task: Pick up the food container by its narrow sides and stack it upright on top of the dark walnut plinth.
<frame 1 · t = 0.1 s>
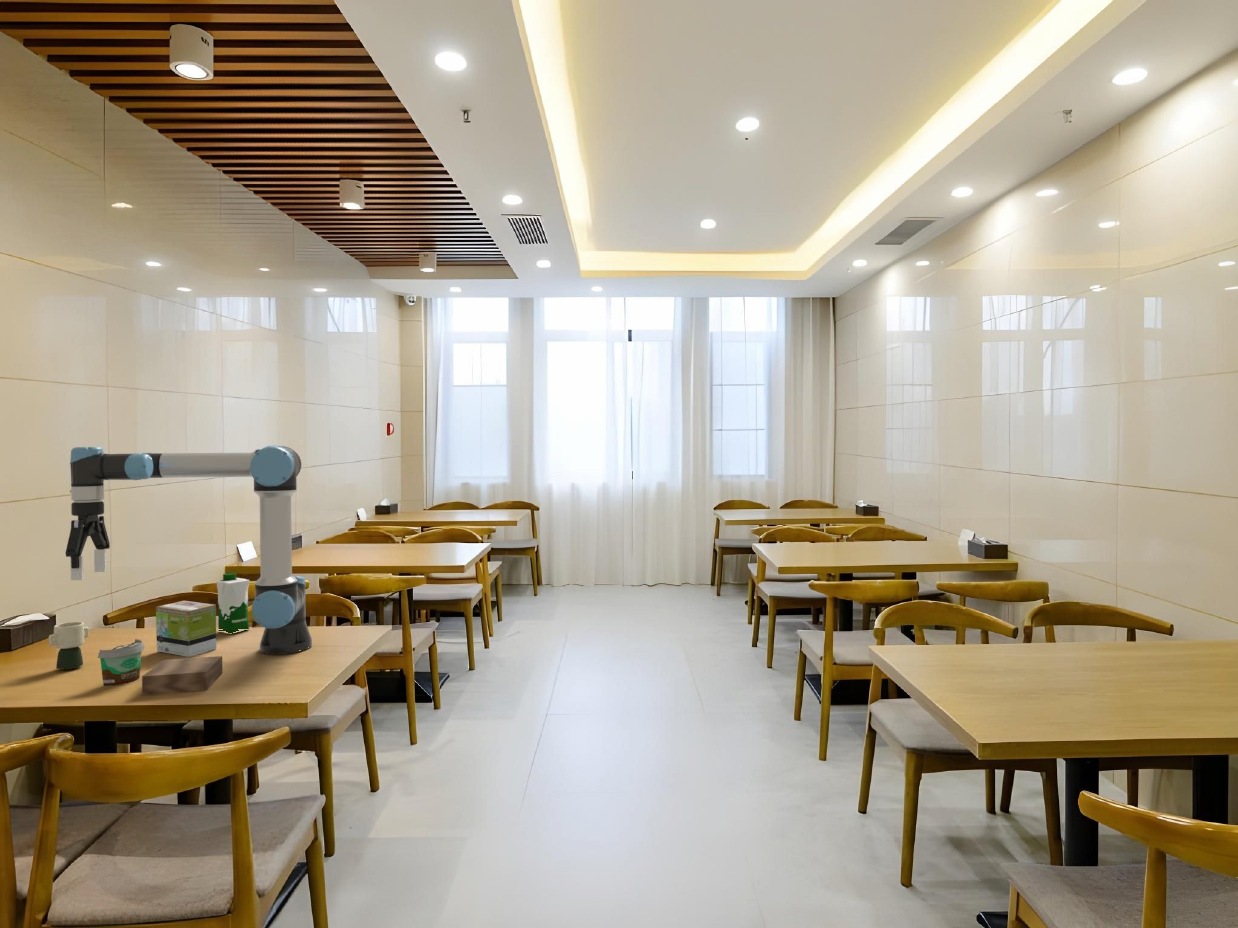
hand: (89, 575, 206), 28 cm above the table, tool pointing down, fingers open, 13 cm apart
tea box: (186, 651, 230), on the table
character mug: (69, 669, 211), on the table
food container: (127, 681, 200), on the table
walnut plinth: (184, 683, 197), on the table
milk carton: (233, 631, 254), on the table
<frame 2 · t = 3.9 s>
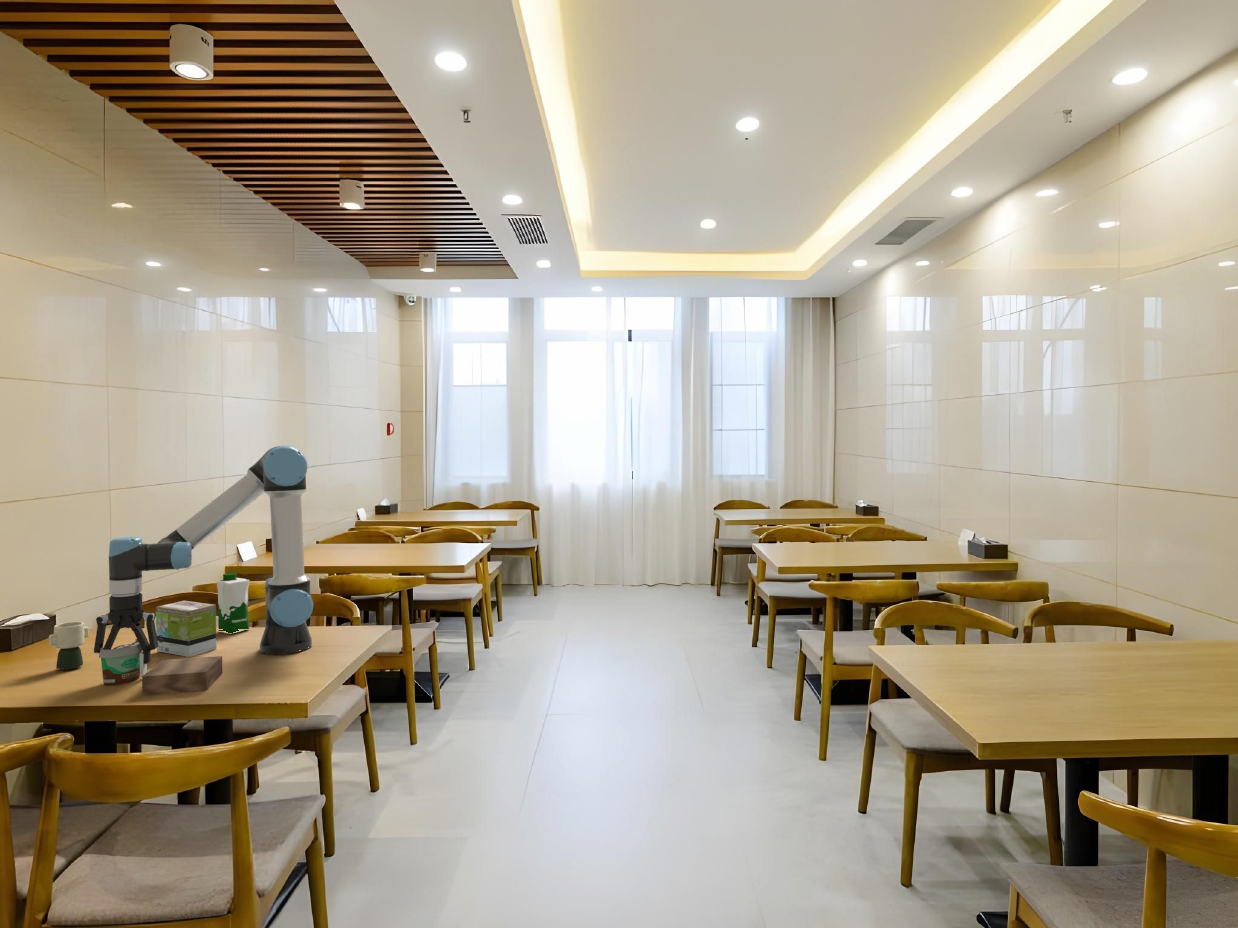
hand: (126, 676, 200), 1 cm above the table, tool pointing down, fingers closed on food container, 7 cm apart
food container: (128, 681, 200), on the table, touching gripper
everything else where it was.
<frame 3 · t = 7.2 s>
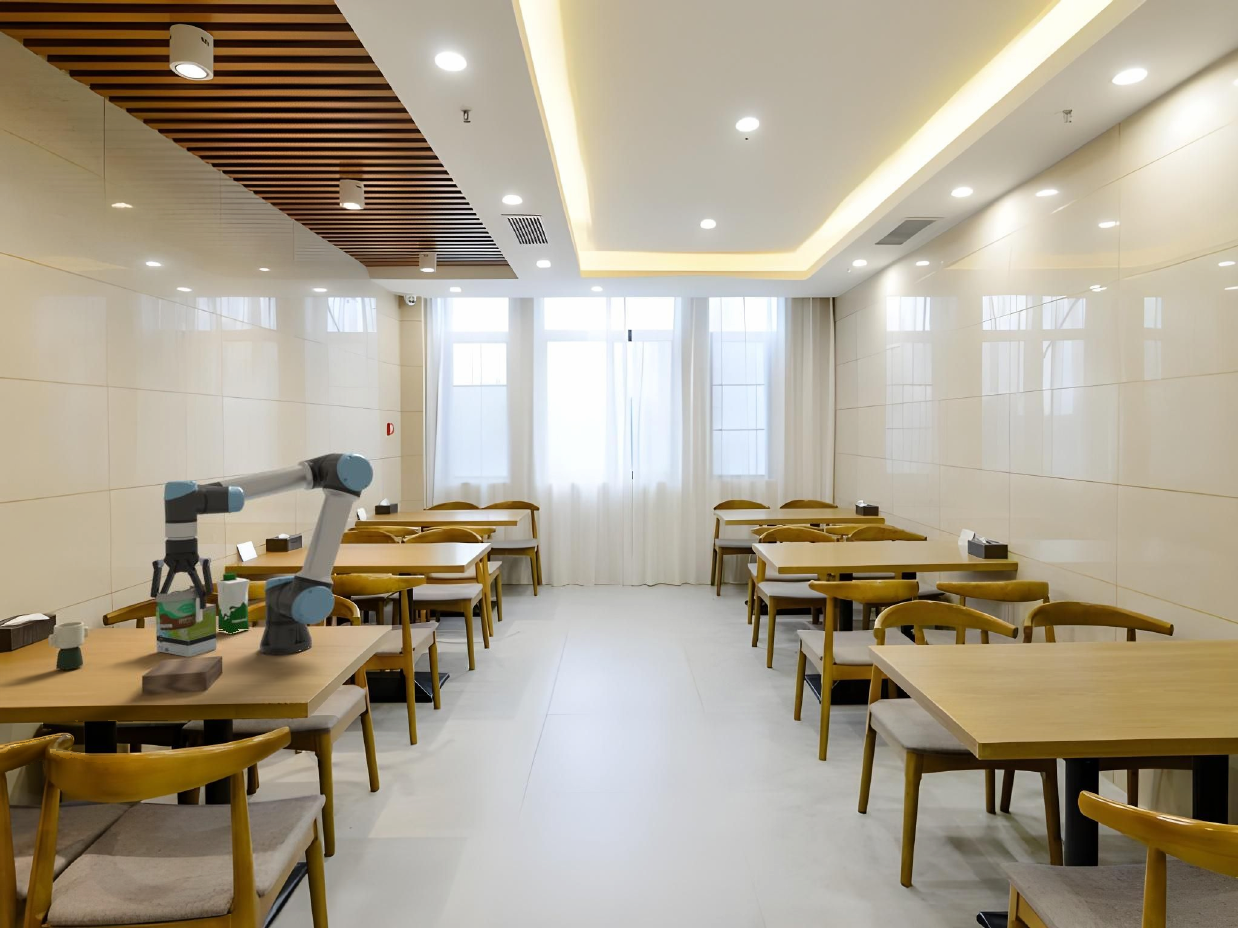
hand: (183, 621, 197), 17 cm above the table, tool pointing down, fingers closed on food container, 7 cm apart
food container: (184, 627, 197), point 16 cm above the table, touching gripper
everything else where it was.
when the fingers open (6 cm above the table, at t = 10.8 s): food container stays where it is, resting on walnut plinth.
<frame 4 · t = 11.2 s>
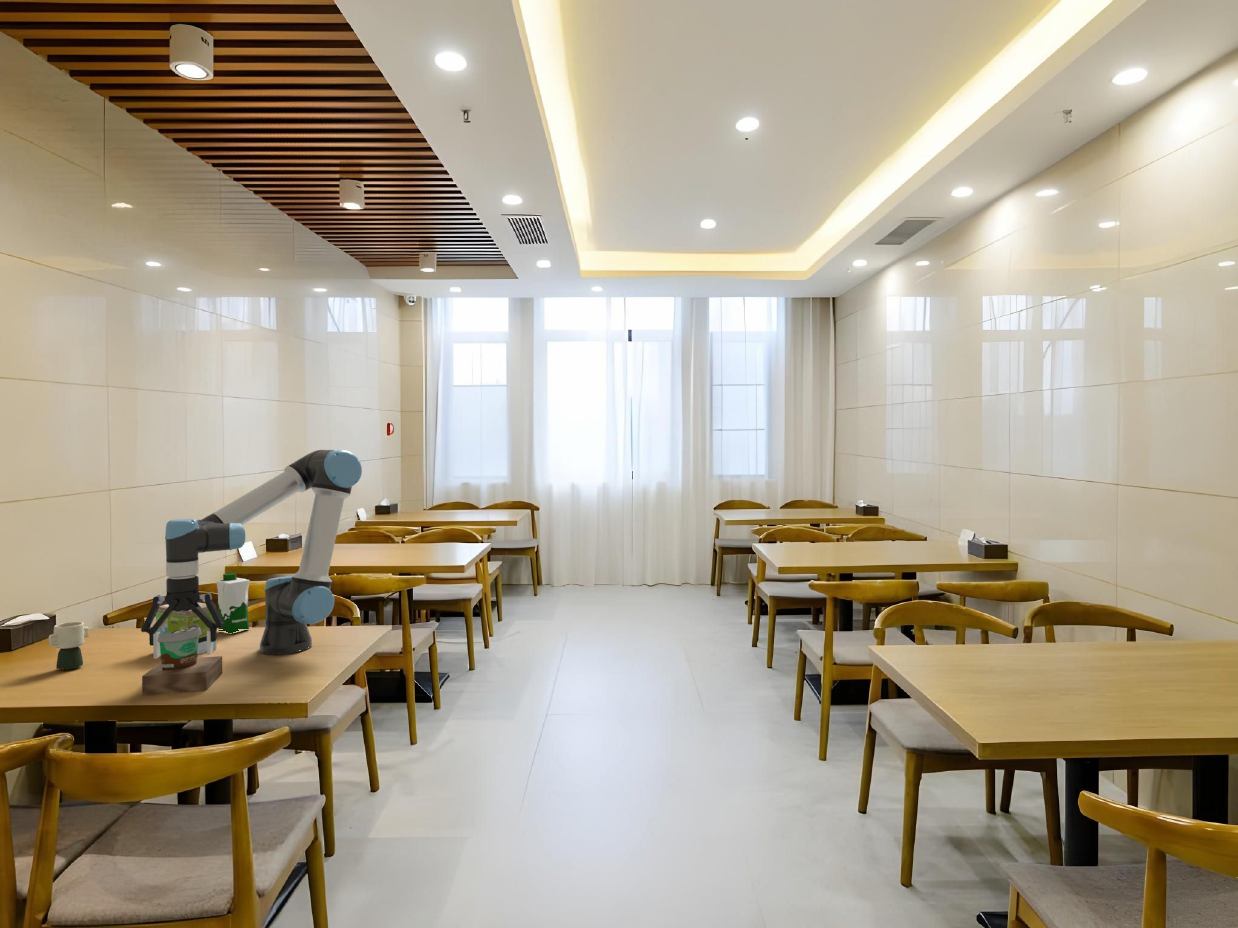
hand: (183, 655, 197), 8 cm above the table, tool pointing down, fingers open, 12 cm apart
food container: (185, 666, 197), point 5 cm above the table, touching walnut plinth
everything else where it was.
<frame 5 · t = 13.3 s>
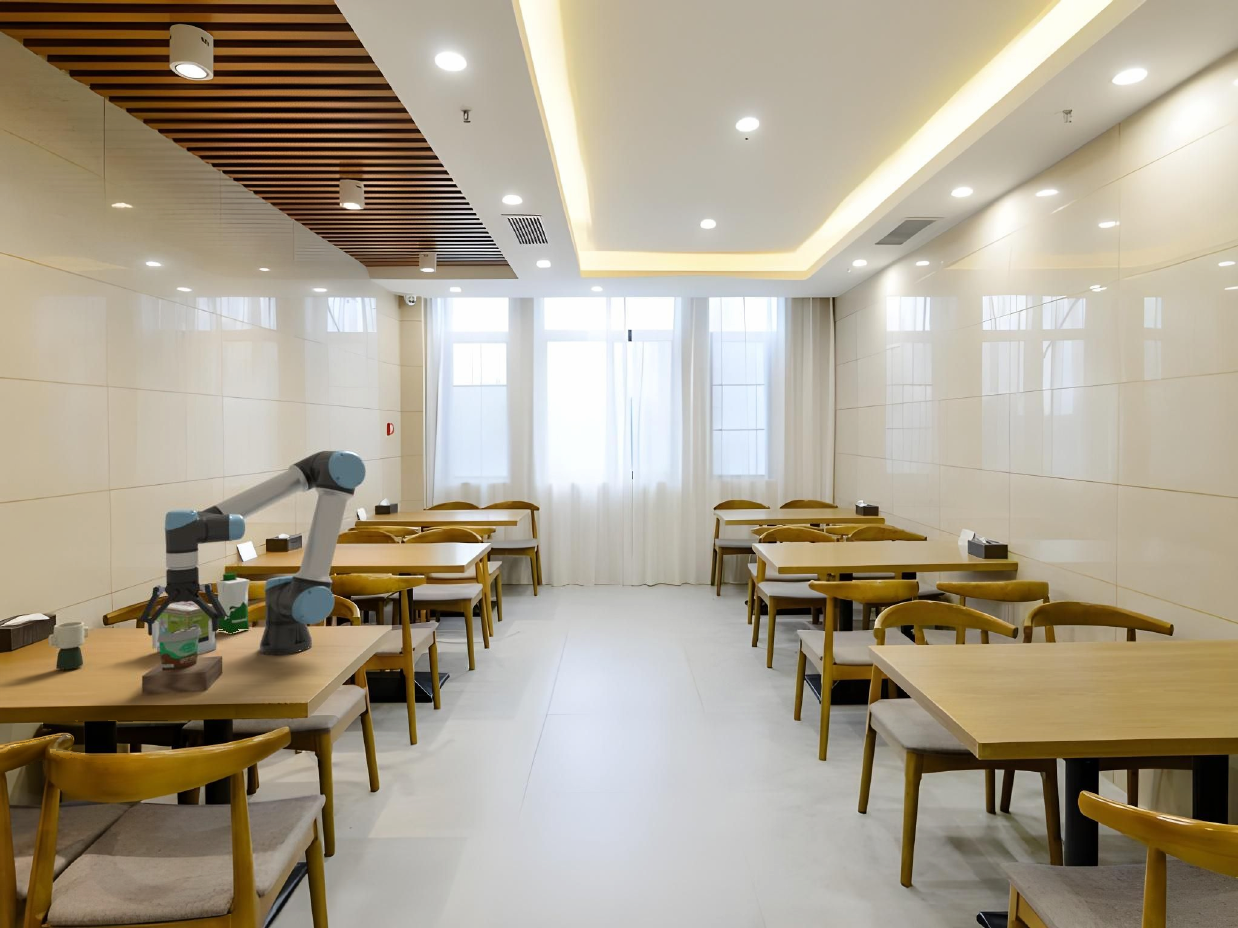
hand: (184, 645, 197), 11 cm above the table, tool pointing down, fingers open, 13 cm apart
nothing on the table moved.
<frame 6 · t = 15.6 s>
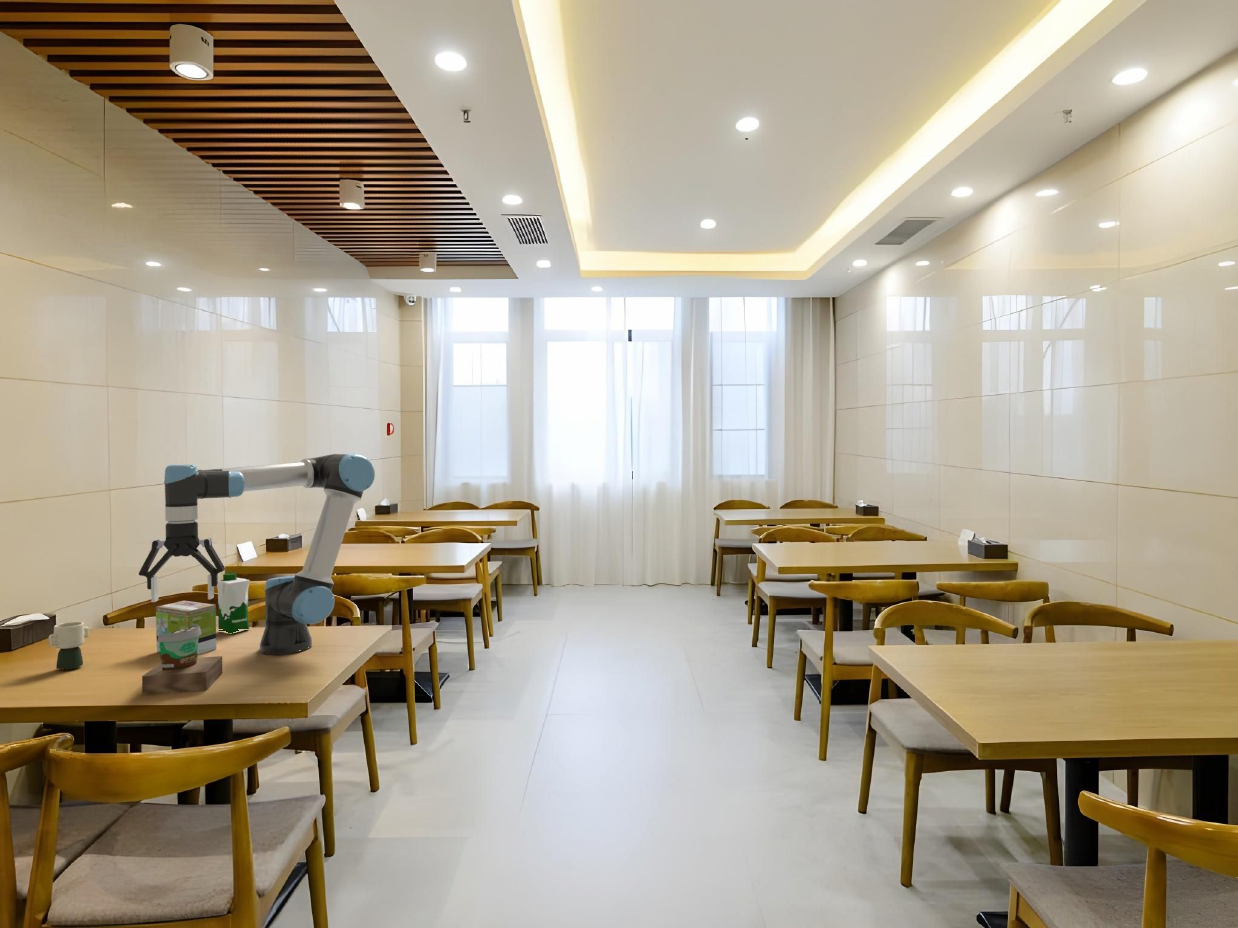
hand: (183, 599, 197), 23 cm above the table, tool pointing down, fingers open, 13 cm apart
nothing on the table moved.
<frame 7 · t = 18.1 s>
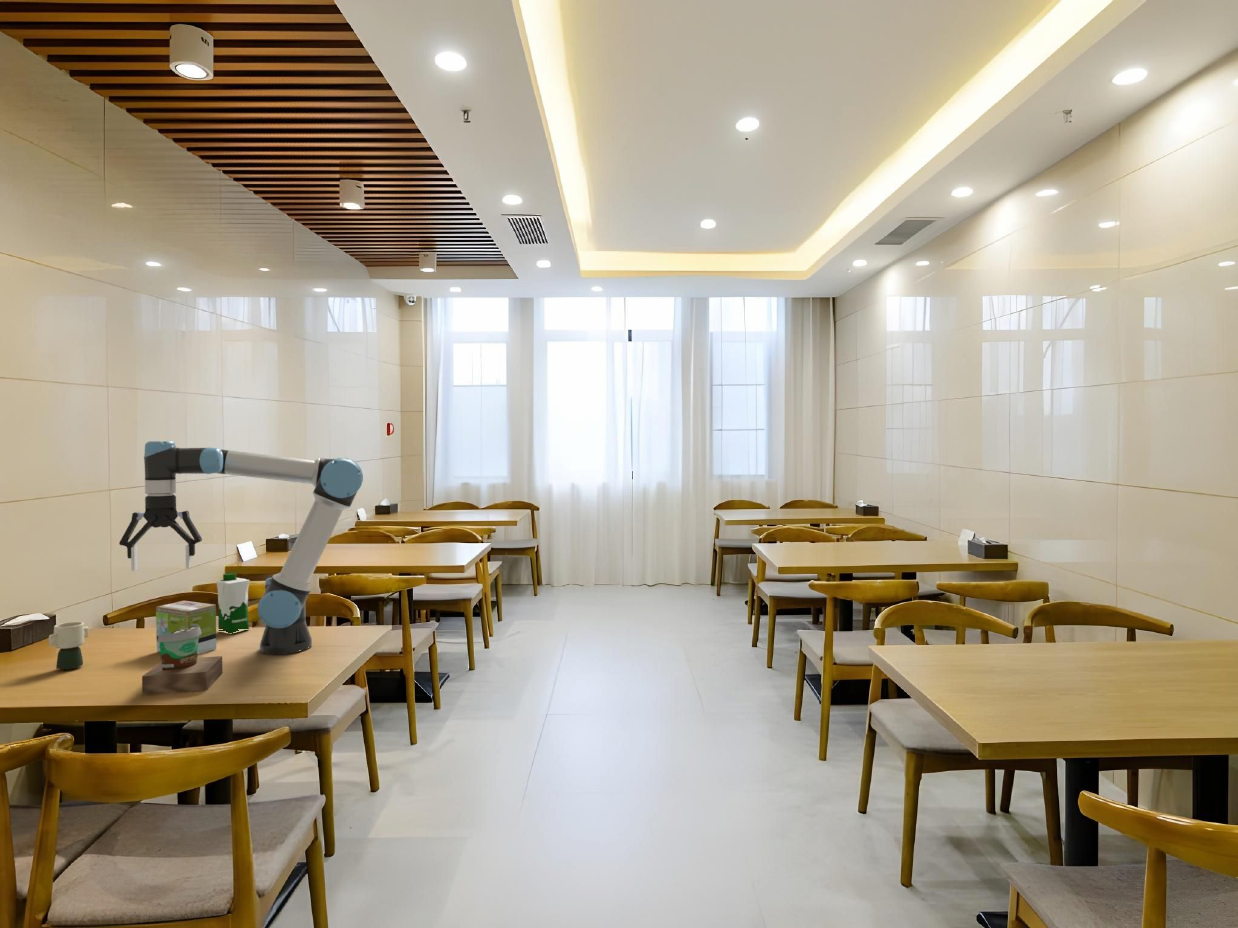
hand: (161, 568, 209), 30 cm above the table, tool pointing down, fingers open, 13 cm apart
nothing on the table moved.
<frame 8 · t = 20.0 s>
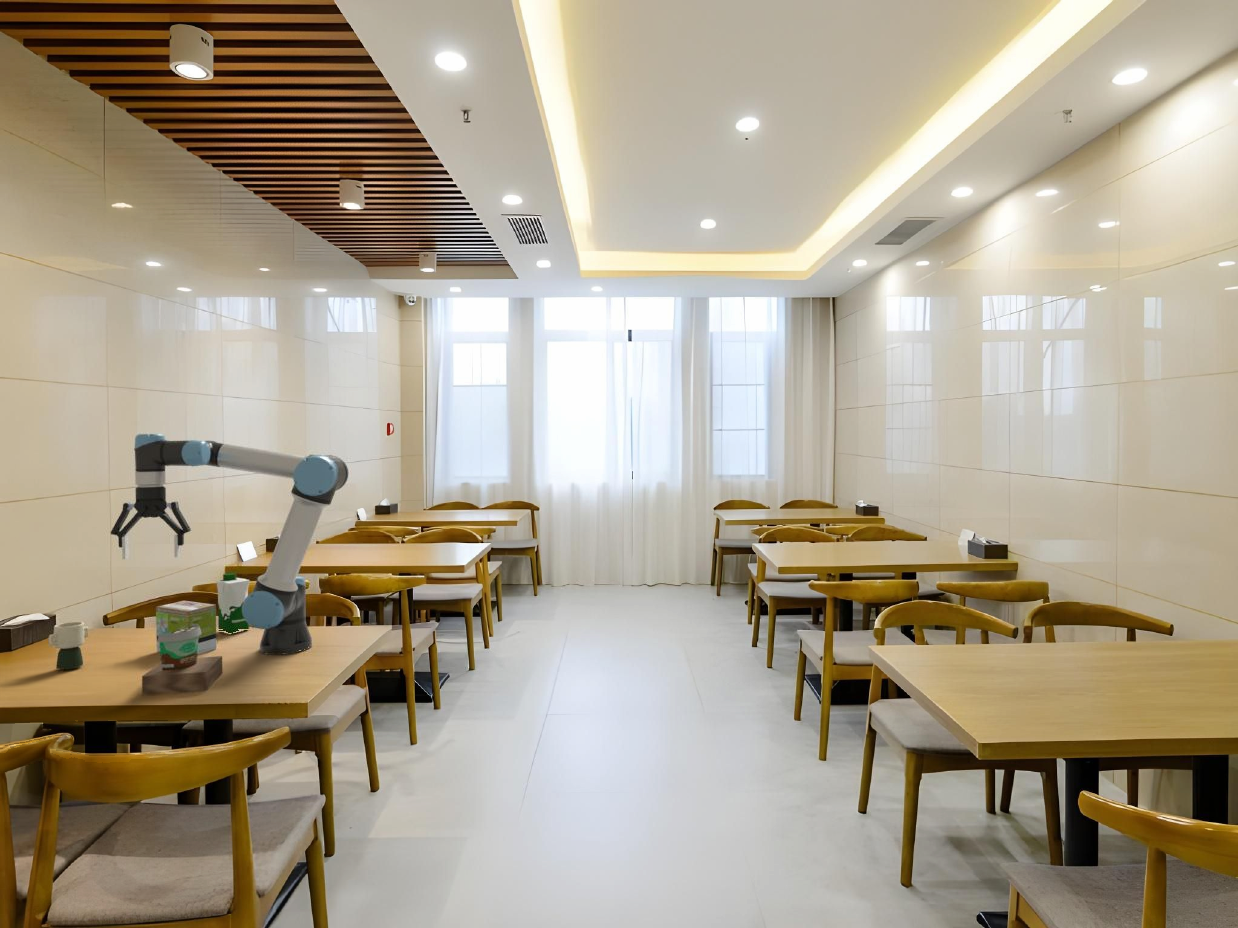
hand: (151, 557, 215), 32 cm above the table, tool pointing down, fingers open, 13 cm apart
nothing on the table moved.
at the end: food container inside the target area on the walnut plinth (0.5 cm from its centre), point 4.8 cm above the walnut plinth's base; food container tilted 0°; the gripper is holding nothing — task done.
